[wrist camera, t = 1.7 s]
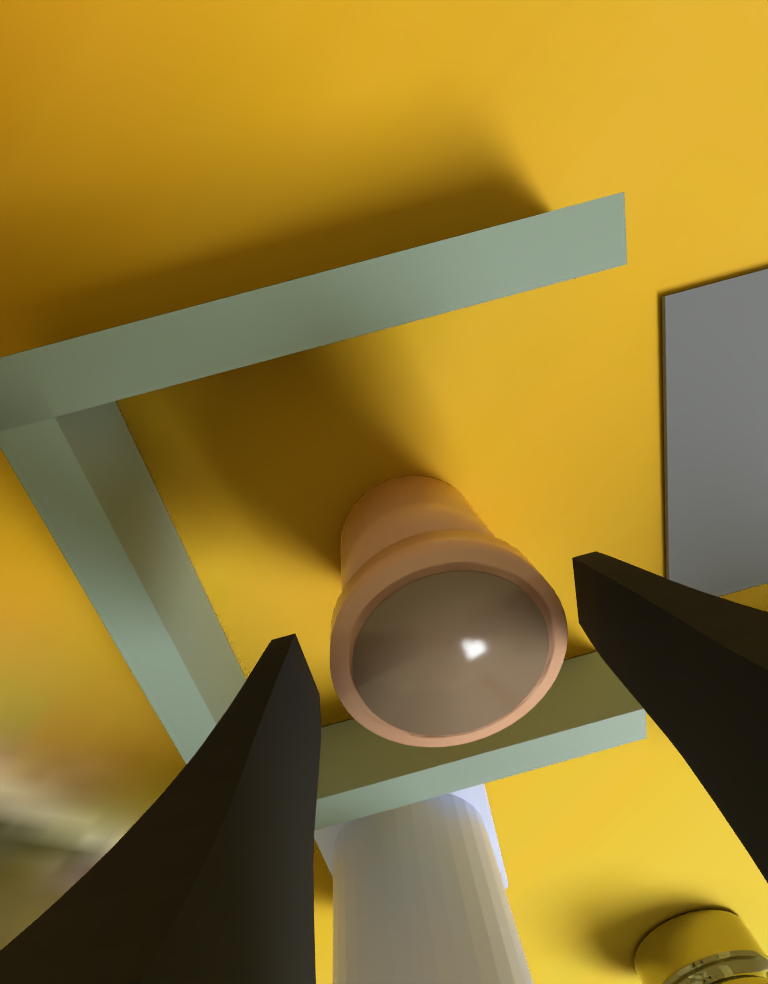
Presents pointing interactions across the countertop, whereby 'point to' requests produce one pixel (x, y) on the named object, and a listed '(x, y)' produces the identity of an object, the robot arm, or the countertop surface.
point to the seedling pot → (438, 619)
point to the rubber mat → (716, 434)
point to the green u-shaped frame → (157, 546)
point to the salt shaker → (702, 951)
